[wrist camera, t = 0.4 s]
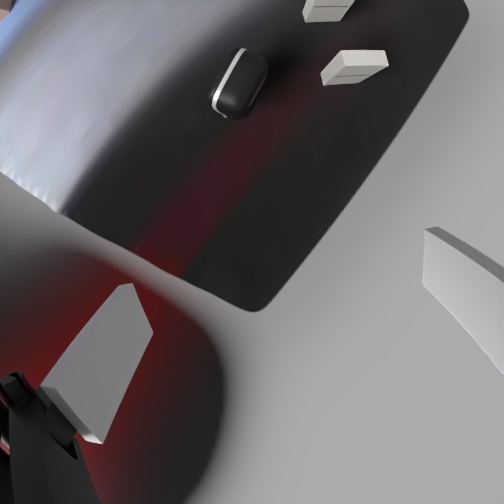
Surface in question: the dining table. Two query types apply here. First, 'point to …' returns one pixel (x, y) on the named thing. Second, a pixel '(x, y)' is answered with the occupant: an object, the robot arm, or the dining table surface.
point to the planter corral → (5, 8)
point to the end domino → (353, 66)
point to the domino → (325, 10)
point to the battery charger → (238, 83)
